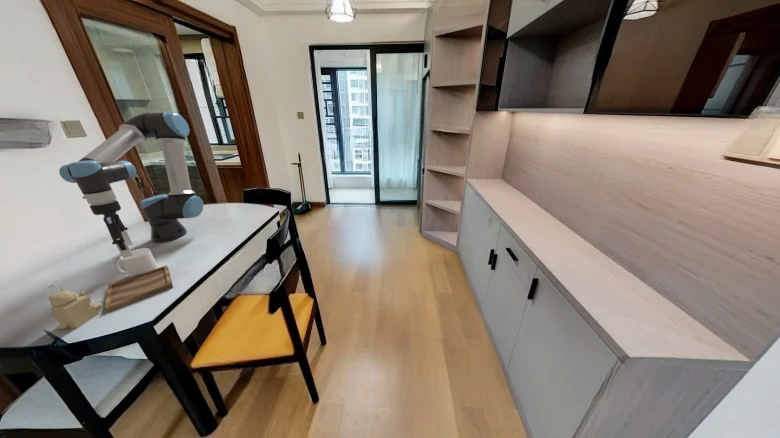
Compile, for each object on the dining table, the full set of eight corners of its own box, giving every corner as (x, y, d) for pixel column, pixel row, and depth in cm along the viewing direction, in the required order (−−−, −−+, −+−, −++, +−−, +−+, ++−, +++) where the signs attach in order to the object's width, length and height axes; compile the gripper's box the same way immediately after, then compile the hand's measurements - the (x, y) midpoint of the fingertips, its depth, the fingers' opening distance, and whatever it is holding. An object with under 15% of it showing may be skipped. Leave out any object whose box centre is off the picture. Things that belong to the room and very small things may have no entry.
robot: (88, 307, 89) (64, 272, 83) (108, 308, 88) (85, 273, 82) (49, 331, 80) (19, 294, 74) (71, 332, 79) (42, 294, 73)
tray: (110, 288, 99) (108, 284, 98) (168, 269, 110) (166, 265, 109) (107, 312, 87) (104, 307, 86) (173, 287, 98) (171, 283, 97)
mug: (162, 264, 114) (154, 246, 110) (150, 276, 106) (141, 257, 102) (131, 269, 111) (121, 251, 107) (116, 281, 103) (105, 262, 99)
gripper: (92, 198, 101) (116, 244, 109) (84, 212, 84) (113, 265, 93) (118, 193, 106) (139, 238, 114) (115, 206, 89) (140, 257, 97)
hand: (128, 250), depth 103 cm, fingers open, 13 cm apart
